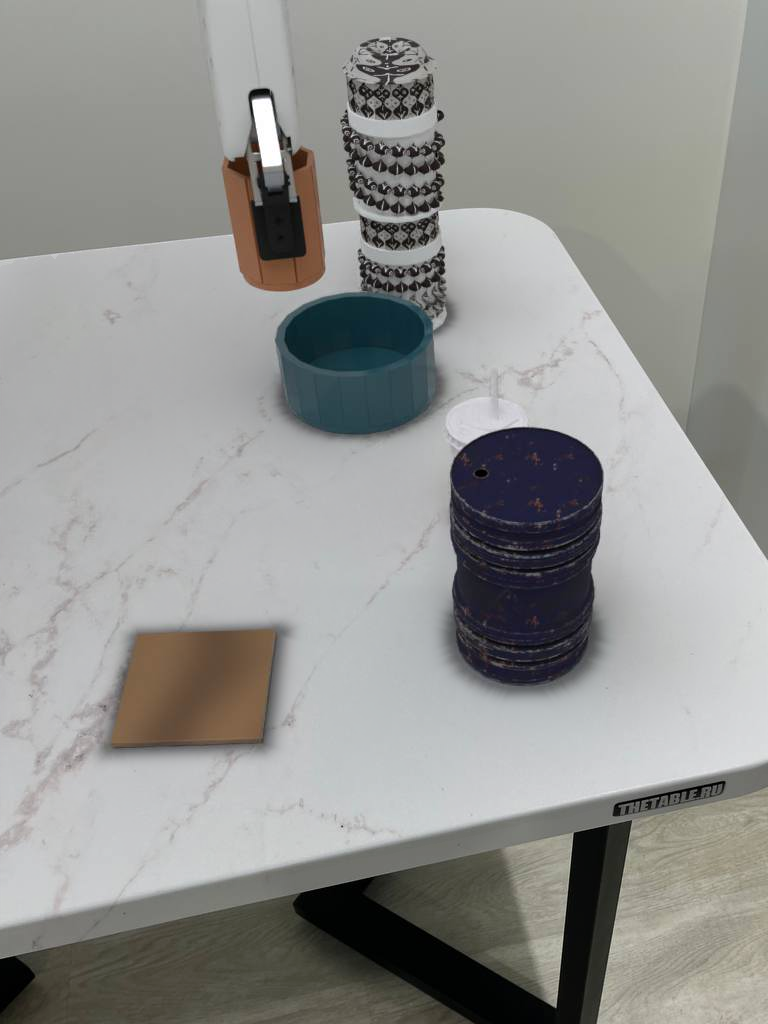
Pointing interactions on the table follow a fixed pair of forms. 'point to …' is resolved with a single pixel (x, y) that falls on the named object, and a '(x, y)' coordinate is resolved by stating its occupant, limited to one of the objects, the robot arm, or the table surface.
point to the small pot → (239, 194)
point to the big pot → (357, 362)
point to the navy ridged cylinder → (524, 552)
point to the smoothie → (482, 417)
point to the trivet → (196, 689)
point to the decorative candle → (396, 171)
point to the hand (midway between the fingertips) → (277, 230)
